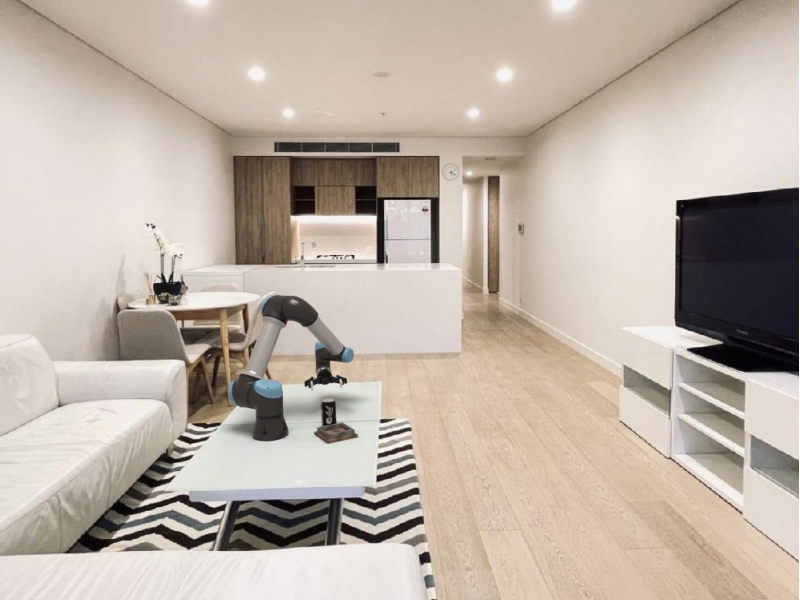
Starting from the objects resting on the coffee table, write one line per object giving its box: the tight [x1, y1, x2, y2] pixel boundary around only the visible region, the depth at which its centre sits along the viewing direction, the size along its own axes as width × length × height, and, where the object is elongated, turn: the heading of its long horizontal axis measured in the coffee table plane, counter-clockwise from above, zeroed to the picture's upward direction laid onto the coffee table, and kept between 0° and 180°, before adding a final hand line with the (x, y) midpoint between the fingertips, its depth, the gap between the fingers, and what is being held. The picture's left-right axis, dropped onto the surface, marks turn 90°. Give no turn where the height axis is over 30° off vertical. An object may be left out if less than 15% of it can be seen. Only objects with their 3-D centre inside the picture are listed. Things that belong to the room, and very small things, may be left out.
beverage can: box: [320, 397, 337, 427], centre depth 256 cm, size 7×7×12 cm
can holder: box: [313, 422, 359, 445], centre depth 243 cm, size 14×14×3 cm
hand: (326, 386), depth 265 cm, fingers open, 13 cm apart
